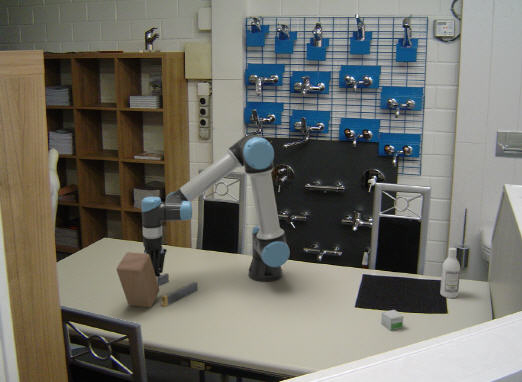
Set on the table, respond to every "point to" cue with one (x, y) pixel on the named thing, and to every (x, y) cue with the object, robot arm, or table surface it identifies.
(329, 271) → the table surface
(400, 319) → the small box
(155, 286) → the wooden block
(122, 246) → the table surface
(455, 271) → the bath foam
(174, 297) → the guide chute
